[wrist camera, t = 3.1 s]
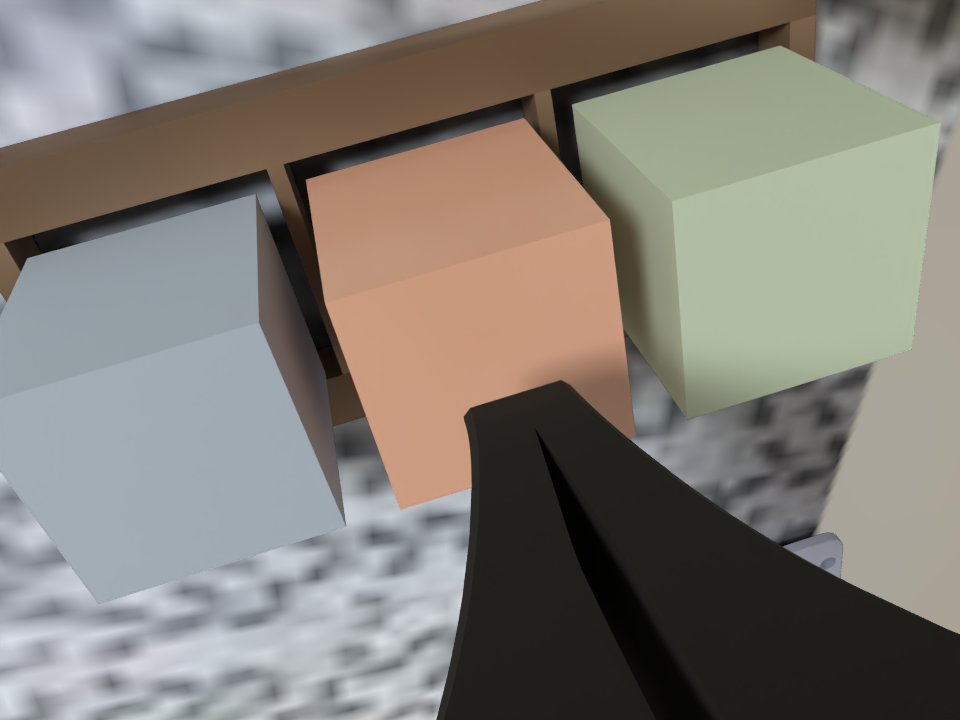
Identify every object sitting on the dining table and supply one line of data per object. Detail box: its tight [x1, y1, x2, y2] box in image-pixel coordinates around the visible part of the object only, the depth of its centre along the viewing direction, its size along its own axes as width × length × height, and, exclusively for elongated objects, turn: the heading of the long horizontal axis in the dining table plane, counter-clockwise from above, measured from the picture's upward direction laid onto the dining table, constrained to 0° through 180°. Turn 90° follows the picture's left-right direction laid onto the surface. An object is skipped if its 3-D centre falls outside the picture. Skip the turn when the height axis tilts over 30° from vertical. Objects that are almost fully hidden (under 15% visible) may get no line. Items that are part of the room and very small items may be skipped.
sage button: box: [572, 46, 941, 420], centre depth 15 cm, size 4×4×4 cm
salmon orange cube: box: [306, 118, 636, 510], centre depth 14 cm, size 4×4×4 cm
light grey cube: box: [0, 194, 346, 604], centre depth 14 cm, size 4×4×4 cm
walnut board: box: [0, 0, 816, 426], centre depth 17 cm, size 7×15×1 cm, turn 101°
